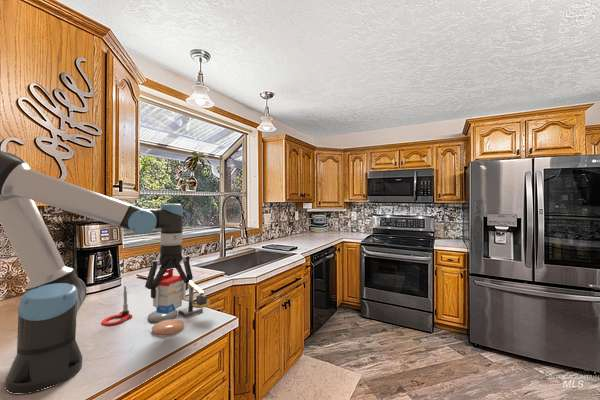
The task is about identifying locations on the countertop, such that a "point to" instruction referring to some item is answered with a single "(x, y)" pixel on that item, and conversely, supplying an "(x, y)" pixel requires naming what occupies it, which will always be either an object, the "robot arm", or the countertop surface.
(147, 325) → the countertop surface
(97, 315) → the countertop surface
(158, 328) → the dish low
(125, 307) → the tow hook
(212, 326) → the countertop surface
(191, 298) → the balance
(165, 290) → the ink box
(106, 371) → the countertop surface
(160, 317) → the dish high
